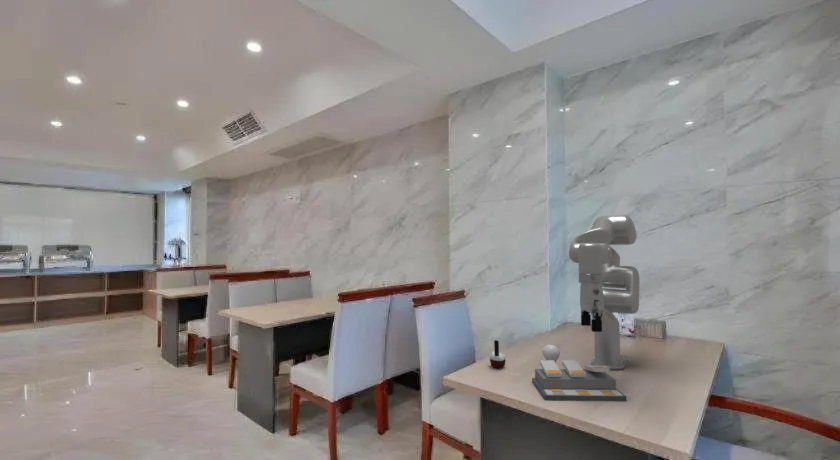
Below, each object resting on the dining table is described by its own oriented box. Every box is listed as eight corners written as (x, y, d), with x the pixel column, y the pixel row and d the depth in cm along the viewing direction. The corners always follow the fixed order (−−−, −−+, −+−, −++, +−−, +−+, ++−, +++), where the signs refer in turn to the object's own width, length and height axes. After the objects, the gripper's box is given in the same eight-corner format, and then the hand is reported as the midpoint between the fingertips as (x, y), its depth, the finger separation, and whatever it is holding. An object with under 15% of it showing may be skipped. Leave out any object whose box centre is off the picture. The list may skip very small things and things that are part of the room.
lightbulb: (559, 371, 151) (559, 343, 151) (560, 376, 145) (559, 347, 145) (543, 369, 153) (542, 341, 153) (542, 374, 147) (542, 346, 147)
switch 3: (598, 369, 137) (598, 364, 138) (609, 372, 129) (609, 367, 129) (584, 368, 137) (584, 364, 138) (594, 371, 129) (594, 367, 129)
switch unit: (604, 382, 138) (604, 368, 139) (626, 401, 122) (626, 385, 123) (532, 382, 139) (531, 368, 140) (544, 400, 123) (544, 384, 124)
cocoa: (495, 364, 161) (495, 335, 162) (509, 366, 157) (508, 337, 158) (484, 369, 154) (484, 338, 155) (499, 372, 150) (498, 340, 151)
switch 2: (576, 363, 138) (576, 360, 137) (585, 377, 129) (586, 373, 129) (562, 363, 138) (562, 359, 138) (570, 377, 129) (571, 373, 129)
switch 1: (553, 363, 138) (553, 359, 138) (561, 377, 129) (562, 373, 129) (539, 363, 138) (539, 359, 138) (546, 377, 129) (547, 373, 129)
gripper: (612, 281, 124) (613, 334, 123) (591, 276, 141) (592, 323, 140) (588, 281, 124) (589, 334, 124) (571, 276, 142) (571, 323, 141)
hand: (591, 328), depth 132 cm, fingers open, 9 cm apart
